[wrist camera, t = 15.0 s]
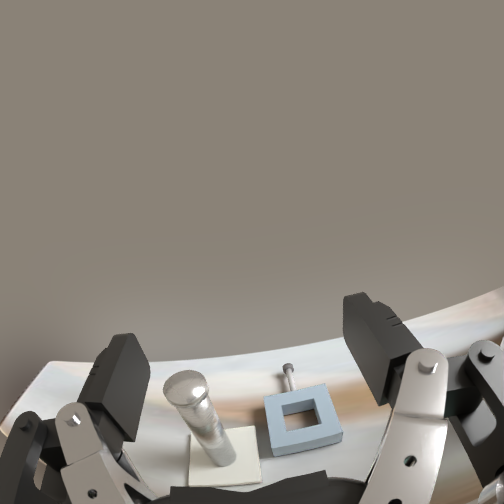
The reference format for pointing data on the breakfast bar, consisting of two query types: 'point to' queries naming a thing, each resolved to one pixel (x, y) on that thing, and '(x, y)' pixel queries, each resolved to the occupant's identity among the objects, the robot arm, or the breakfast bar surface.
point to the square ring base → (298, 402)
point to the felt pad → (235, 474)
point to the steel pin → (200, 415)
